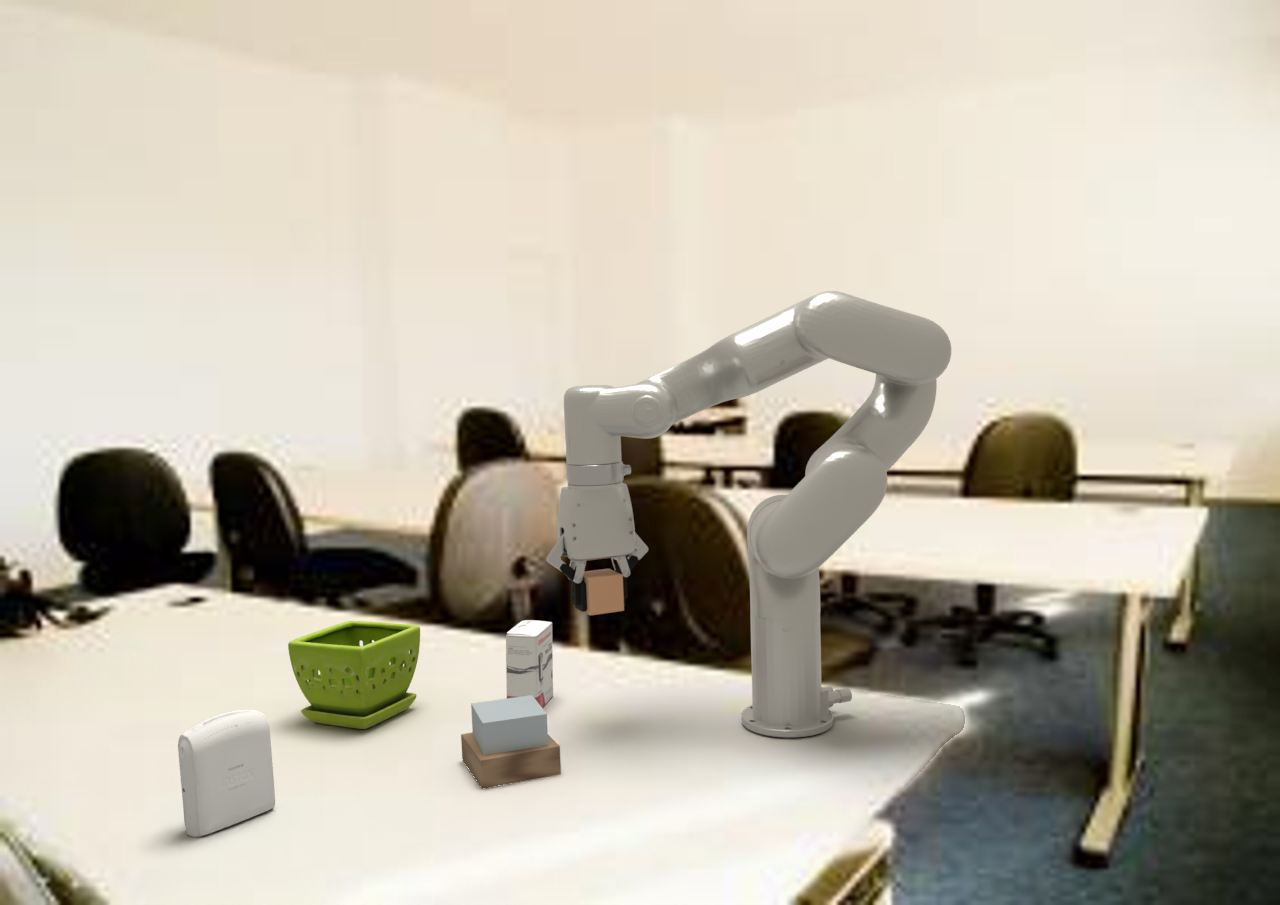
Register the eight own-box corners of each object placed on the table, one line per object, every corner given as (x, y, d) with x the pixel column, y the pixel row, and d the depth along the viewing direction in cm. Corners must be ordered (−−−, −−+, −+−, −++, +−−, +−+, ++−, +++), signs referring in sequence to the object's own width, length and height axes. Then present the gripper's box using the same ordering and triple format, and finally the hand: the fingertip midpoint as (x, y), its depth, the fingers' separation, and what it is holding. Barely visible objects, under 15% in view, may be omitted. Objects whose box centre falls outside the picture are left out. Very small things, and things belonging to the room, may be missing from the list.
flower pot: (428, 707, 159) (423, 624, 158) (367, 739, 146) (362, 649, 145) (353, 697, 165) (348, 617, 164) (289, 727, 152) (283, 640, 151)
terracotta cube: (610, 603, 150) (608, 568, 150) (624, 610, 145) (622, 574, 145) (577, 608, 148) (575, 572, 148) (590, 615, 143) (588, 579, 143)
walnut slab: (536, 750, 141) (535, 721, 141) (561, 777, 132) (559, 746, 132) (462, 764, 137) (461, 734, 137) (482, 792, 128) (480, 760, 128)
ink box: (539, 715, 154) (536, 634, 153) (506, 713, 155) (502, 633, 154) (556, 696, 162) (552, 619, 161) (524, 694, 163) (521, 618, 162)
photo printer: (197, 841, 116) (189, 732, 115) (178, 831, 119) (170, 724, 118) (281, 809, 124) (275, 706, 123) (262, 800, 127) (255, 699, 126)
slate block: (533, 724, 140) (532, 695, 139) (548, 745, 132) (546, 713, 132) (472, 733, 137) (471, 703, 137) (484, 755, 129) (482, 723, 129)
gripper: (640, 468, 152) (645, 594, 153) (526, 478, 145) (533, 609, 147) (662, 473, 145) (667, 604, 147) (543, 483, 138) (550, 621, 140)
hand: (600, 605), depth 147 cm, fingers closed on terracotta cube, 5 cm apart
